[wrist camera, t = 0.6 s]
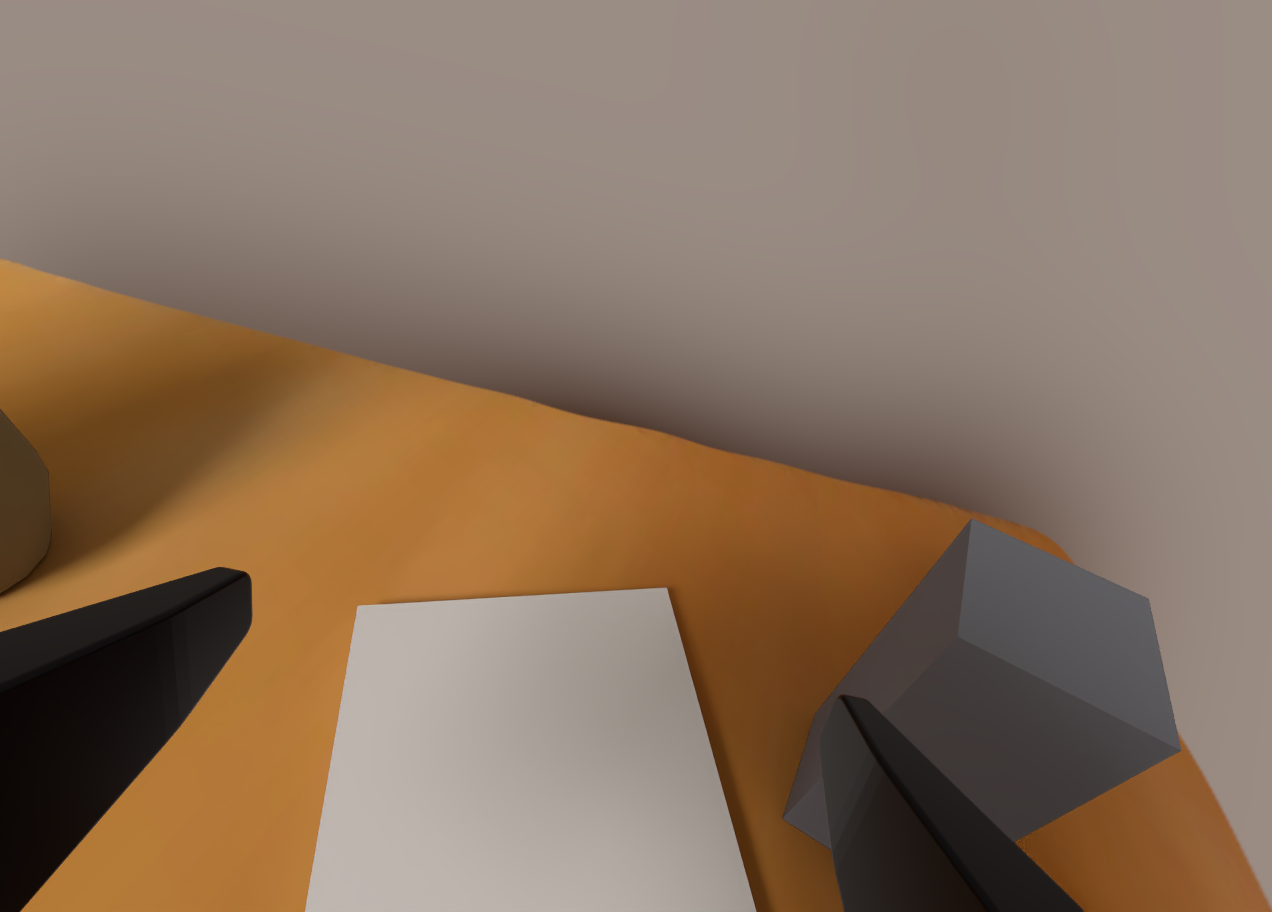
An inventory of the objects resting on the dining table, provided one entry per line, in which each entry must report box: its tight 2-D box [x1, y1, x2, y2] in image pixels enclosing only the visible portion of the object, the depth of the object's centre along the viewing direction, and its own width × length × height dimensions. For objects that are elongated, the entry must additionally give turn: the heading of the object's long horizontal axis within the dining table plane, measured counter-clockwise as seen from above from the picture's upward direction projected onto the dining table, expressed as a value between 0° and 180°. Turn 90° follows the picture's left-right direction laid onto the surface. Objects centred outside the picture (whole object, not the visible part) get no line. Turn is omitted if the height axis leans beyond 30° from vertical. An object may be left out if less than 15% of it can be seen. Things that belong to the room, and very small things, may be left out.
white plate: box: [305, 588, 756, 912], centre depth 23 cm, size 14×14×1 cm
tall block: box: [782, 518, 1181, 850], centre depth 20 cm, size 5×5×13 cm
